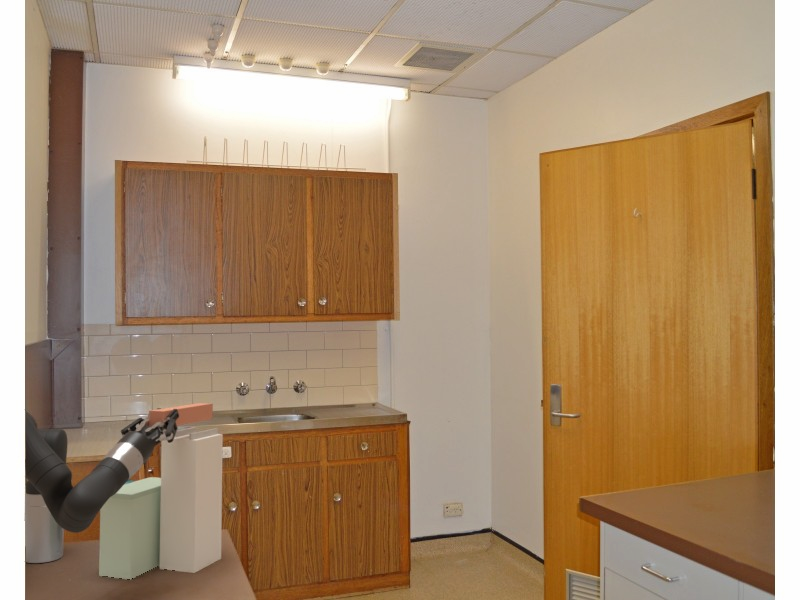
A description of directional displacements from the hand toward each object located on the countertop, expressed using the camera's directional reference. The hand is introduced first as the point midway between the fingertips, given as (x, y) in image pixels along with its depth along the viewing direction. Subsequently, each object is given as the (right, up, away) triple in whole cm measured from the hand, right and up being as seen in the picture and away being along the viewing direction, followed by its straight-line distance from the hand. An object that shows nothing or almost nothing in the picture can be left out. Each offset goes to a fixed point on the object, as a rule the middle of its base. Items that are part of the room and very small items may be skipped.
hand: (168, 411), depth 176 cm
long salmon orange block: (+2, -4, +5) cm, 7 cm away
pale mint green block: (-9, -40, +6) cm, 41 cm away
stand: (+3, -40, +8) cm, 41 cm away
